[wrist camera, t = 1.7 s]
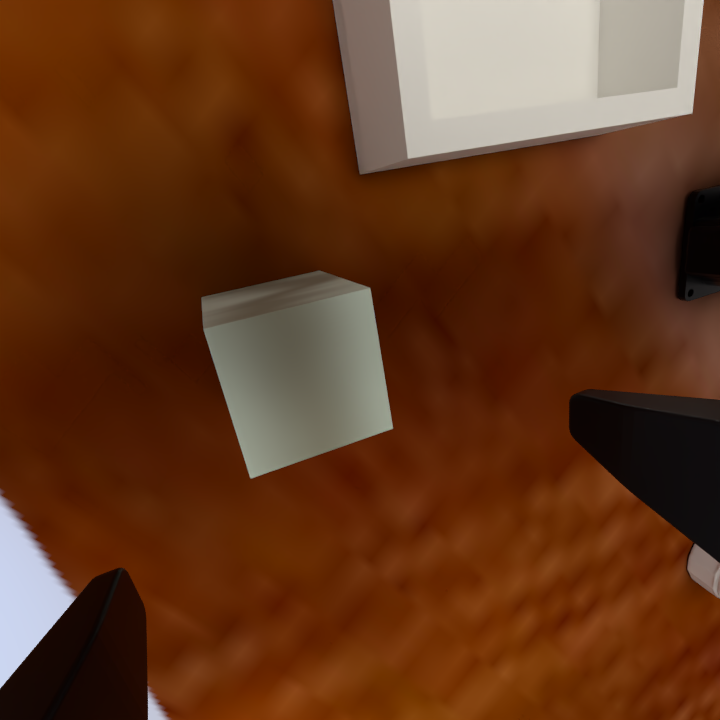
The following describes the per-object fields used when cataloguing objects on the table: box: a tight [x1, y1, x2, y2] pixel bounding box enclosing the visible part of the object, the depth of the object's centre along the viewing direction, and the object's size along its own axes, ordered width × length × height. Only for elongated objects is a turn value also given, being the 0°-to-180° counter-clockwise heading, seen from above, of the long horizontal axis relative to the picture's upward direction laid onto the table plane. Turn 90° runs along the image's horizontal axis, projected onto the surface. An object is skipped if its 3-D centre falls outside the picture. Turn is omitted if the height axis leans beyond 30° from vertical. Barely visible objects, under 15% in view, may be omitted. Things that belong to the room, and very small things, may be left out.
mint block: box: [201, 270, 393, 478], centre depth 16 cm, size 5×5×6 cm
